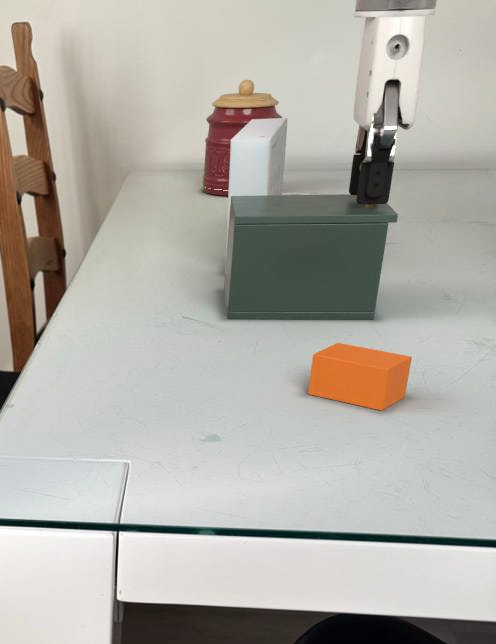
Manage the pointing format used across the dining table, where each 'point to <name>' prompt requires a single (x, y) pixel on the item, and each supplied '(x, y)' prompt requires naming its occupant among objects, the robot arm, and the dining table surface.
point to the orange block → (359, 375)
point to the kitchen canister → (231, 131)
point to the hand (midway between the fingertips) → (367, 197)
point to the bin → (303, 270)
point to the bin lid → (308, 209)
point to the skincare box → (257, 160)
